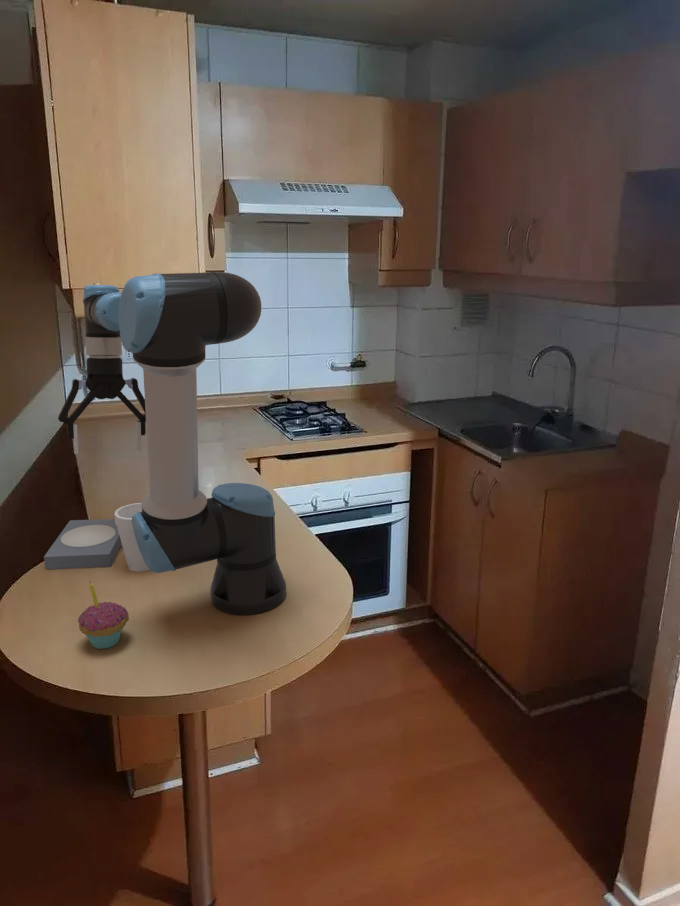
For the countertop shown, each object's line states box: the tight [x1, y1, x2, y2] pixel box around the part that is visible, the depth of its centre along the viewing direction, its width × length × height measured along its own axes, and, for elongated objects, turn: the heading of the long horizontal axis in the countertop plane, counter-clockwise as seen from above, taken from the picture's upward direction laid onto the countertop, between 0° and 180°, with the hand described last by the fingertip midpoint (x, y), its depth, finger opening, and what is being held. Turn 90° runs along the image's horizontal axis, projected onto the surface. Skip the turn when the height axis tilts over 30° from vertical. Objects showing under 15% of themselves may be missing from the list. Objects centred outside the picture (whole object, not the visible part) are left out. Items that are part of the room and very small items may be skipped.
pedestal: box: [43, 518, 122, 570], centre depth 164 cm, size 20×14×3 cm
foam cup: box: [114, 502, 150, 573], centre depth 154 cm, size 10×9×13 cm
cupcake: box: [77, 579, 130, 650], centre depth 126 cm, size 9×8×12 cm
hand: (108, 451), depth 160 cm, fingers open, 13 cm apart
